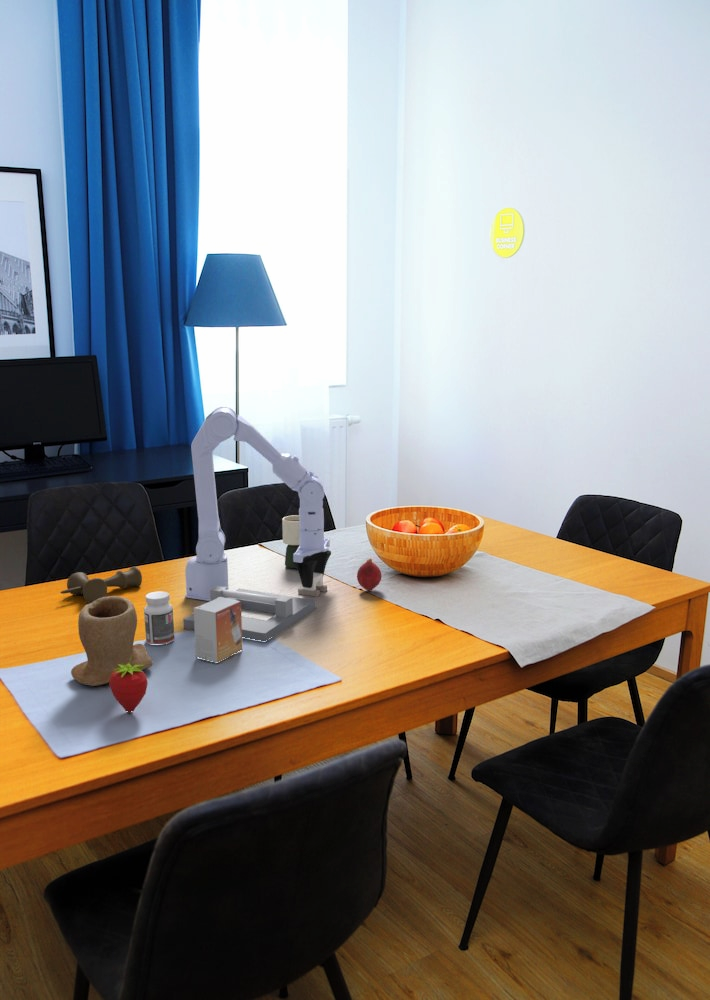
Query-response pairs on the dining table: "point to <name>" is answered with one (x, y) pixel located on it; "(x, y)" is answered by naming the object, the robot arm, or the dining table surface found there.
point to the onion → (369, 575)
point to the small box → (218, 629)
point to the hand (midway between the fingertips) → (312, 583)
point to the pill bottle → (158, 618)
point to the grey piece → (258, 629)
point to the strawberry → (128, 685)
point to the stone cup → (108, 640)
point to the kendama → (101, 583)
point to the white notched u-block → (314, 586)
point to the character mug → (290, 538)
